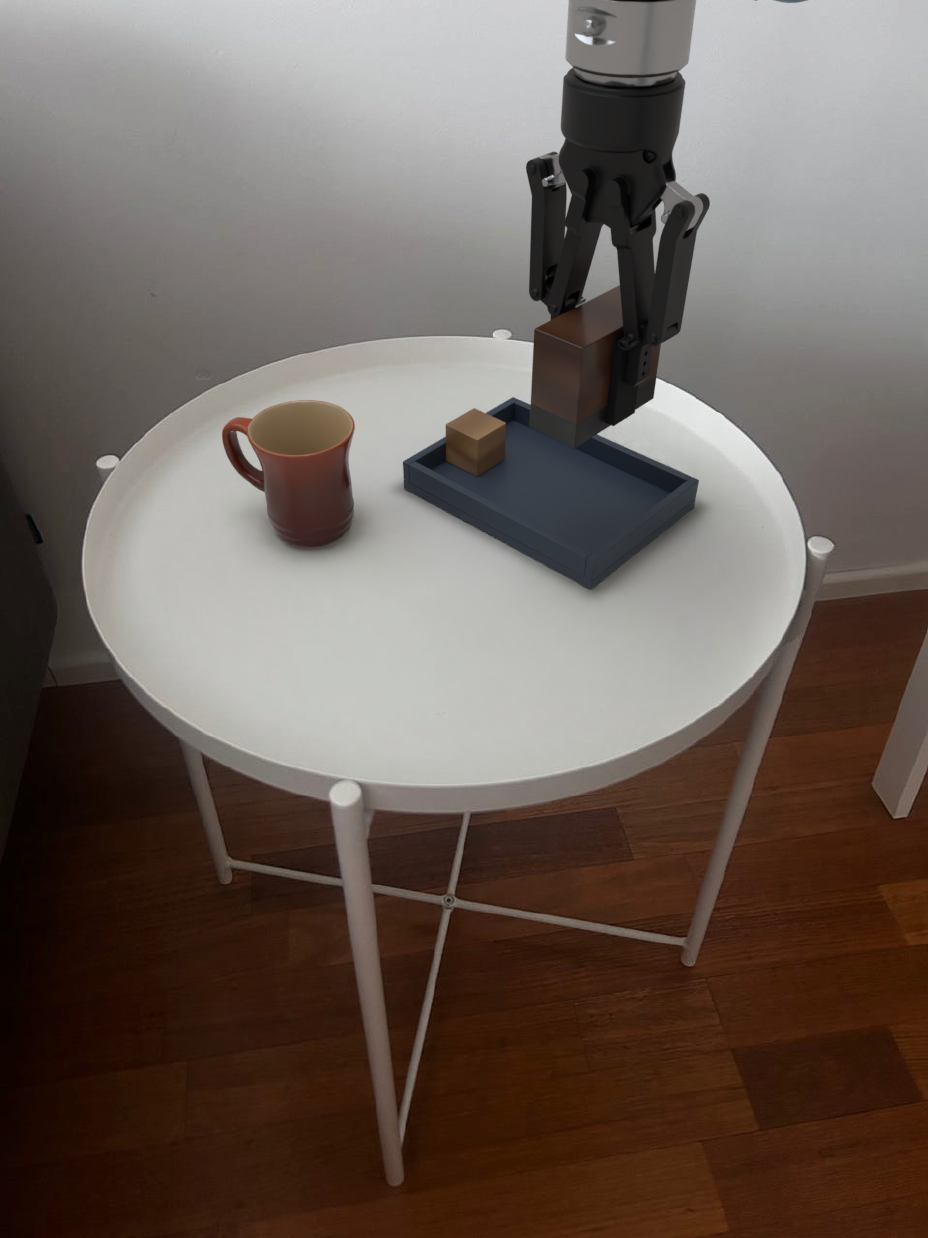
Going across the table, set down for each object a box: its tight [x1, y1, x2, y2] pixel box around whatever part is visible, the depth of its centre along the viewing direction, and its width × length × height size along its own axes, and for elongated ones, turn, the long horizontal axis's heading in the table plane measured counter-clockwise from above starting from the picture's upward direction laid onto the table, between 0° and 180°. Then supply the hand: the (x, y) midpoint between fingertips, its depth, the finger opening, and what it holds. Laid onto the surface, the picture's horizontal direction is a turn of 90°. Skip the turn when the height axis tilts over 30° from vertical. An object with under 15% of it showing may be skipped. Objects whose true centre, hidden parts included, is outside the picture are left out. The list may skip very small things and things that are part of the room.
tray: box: [402, 396, 700, 591], centre depth 91 cm, size 22×16×3 cm
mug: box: [221, 399, 356, 548], centre depth 86 cm, size 12×9×10 cm
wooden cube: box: [445, 407, 506, 477], centre depth 94 cm, size 4×4×4 cm
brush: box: [529, 284, 662, 448], centre depth 75 cm, size 10×4×8 cm, turn 137°
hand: (593, 405), depth 78 cm, fingers closed on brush, 4 cm apart
